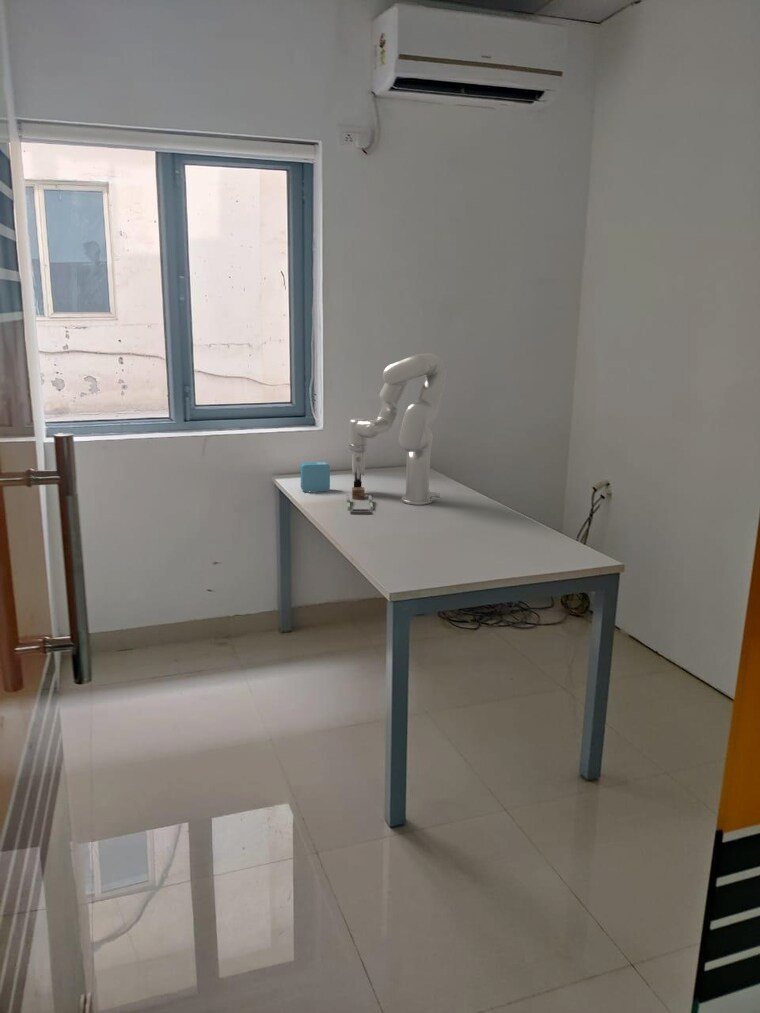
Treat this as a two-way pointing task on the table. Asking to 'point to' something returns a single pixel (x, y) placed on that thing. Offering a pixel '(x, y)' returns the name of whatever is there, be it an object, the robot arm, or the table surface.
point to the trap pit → (360, 511)
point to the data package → (315, 476)
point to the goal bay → (349, 506)
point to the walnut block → (358, 493)
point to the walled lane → (369, 499)
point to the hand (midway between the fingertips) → (357, 490)
